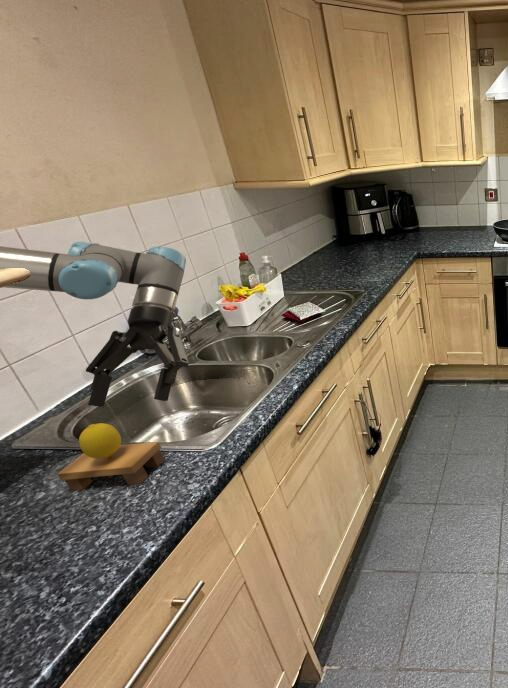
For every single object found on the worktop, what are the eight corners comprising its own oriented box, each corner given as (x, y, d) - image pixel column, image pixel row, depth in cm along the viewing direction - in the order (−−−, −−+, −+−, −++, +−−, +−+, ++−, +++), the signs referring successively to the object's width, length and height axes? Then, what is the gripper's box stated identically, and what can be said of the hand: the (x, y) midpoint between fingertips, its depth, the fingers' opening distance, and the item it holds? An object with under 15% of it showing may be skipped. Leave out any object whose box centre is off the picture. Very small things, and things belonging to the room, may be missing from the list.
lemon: (99, 452, 83) (80, 421, 79) (132, 443, 84) (115, 412, 81) (85, 471, 78) (64, 438, 75) (121, 461, 80) (102, 428, 77)
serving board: (69, 493, 80) (56, 474, 78) (101, 466, 86) (89, 448, 84) (142, 486, 80) (131, 466, 78) (167, 460, 86) (158, 441, 84)
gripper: (218, 311, 98) (200, 400, 90) (113, 320, 97) (86, 410, 89) (195, 299, 91) (173, 394, 83) (82, 309, 90) (49, 405, 82)
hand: (128, 403), depth 86 cm, fingers open, 13 cm apart
